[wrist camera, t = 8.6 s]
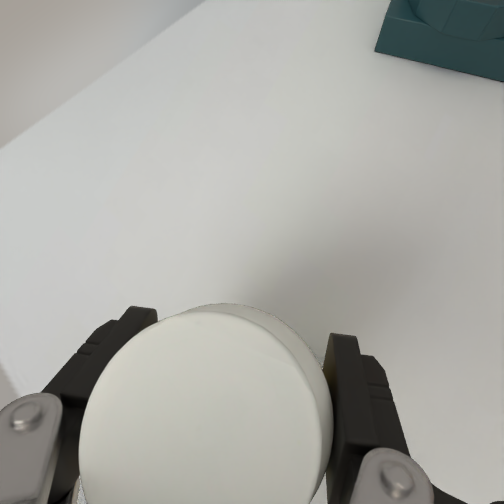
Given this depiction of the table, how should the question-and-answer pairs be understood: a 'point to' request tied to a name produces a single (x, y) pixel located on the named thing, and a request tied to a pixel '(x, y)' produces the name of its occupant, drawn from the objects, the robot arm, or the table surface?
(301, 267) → the table surface
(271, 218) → the table surface
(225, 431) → the supplement bottle
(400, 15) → the teal button base
